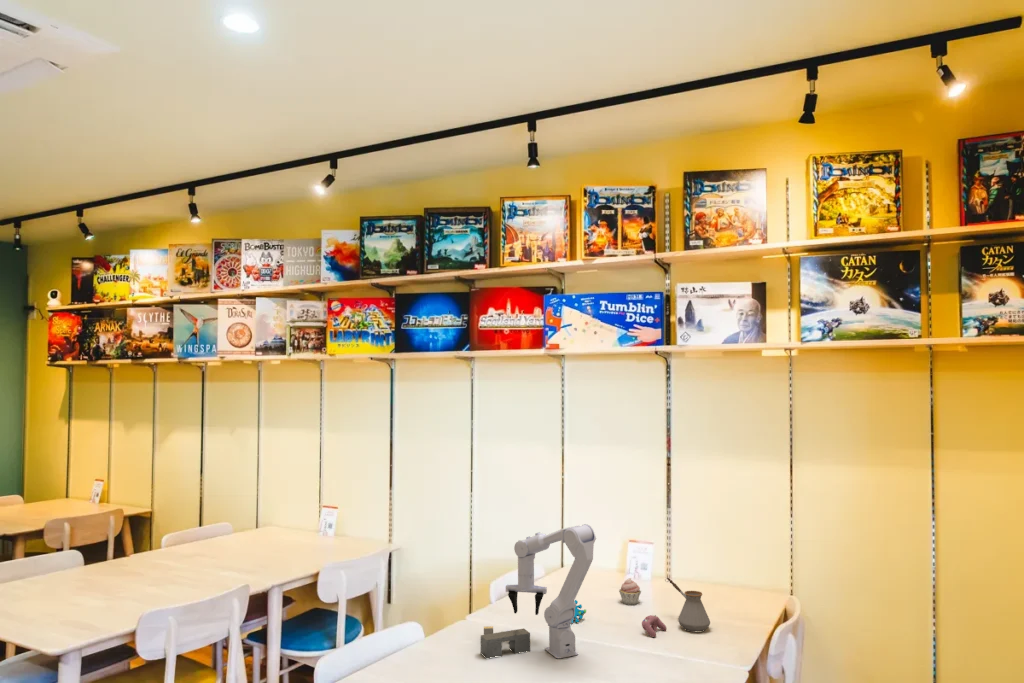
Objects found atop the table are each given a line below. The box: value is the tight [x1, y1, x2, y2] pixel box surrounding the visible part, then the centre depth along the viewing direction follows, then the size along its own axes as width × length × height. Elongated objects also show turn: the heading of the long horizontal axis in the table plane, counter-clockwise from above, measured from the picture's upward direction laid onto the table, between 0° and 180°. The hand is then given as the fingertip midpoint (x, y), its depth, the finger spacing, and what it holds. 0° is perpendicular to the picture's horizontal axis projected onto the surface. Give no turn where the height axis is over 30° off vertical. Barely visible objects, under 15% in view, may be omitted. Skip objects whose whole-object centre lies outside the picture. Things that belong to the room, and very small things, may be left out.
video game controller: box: [641, 614, 667, 638], centre depth 247 cm, size 10×5×7 cm, turn 141°
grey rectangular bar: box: [483, 625, 494, 635], centre depth 241 cm, size 11×3×3 cm, turn 2°
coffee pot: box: [664, 576, 711, 632], centre depth 256 cm, size 21×12×15 cm, turn 25°
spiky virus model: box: [571, 599, 587, 624], centre depth 262 cm, size 11×6×10 cm
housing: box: [480, 628, 531, 659], centre depth 230 cm, size 5×16×6 cm, turn 113°
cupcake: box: [618, 577, 642, 606], centre depth 282 cm, size 9×9×10 cm
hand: (526, 613), depth 241 cm, fingers open, 7 cm apart
